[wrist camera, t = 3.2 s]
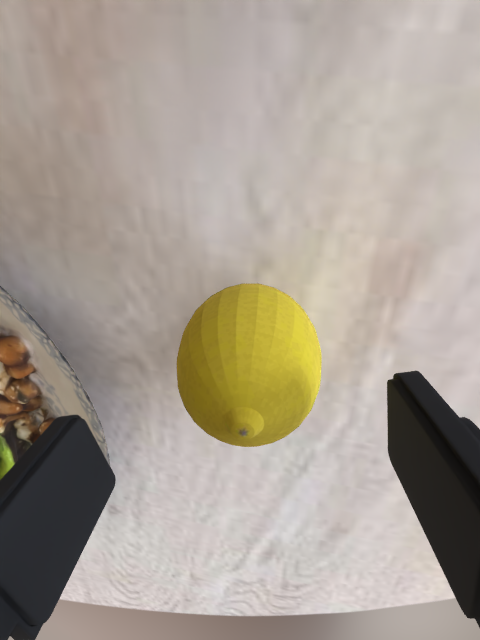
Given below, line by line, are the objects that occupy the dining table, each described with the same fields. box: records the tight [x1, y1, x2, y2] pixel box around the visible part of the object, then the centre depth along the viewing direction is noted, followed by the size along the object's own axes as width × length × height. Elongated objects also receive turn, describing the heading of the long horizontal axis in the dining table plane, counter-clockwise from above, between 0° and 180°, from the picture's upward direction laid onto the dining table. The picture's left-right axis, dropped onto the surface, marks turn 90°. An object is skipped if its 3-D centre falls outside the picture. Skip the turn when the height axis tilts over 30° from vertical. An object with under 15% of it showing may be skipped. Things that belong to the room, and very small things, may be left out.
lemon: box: [177, 284, 321, 447], centre depth 12 cm, size 6×6×8 cm
